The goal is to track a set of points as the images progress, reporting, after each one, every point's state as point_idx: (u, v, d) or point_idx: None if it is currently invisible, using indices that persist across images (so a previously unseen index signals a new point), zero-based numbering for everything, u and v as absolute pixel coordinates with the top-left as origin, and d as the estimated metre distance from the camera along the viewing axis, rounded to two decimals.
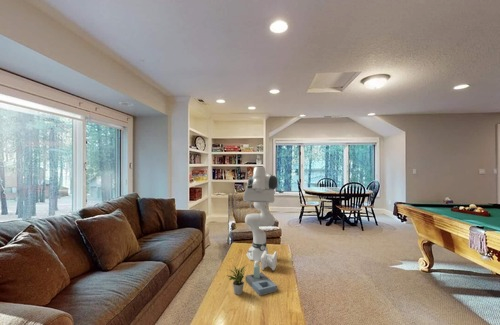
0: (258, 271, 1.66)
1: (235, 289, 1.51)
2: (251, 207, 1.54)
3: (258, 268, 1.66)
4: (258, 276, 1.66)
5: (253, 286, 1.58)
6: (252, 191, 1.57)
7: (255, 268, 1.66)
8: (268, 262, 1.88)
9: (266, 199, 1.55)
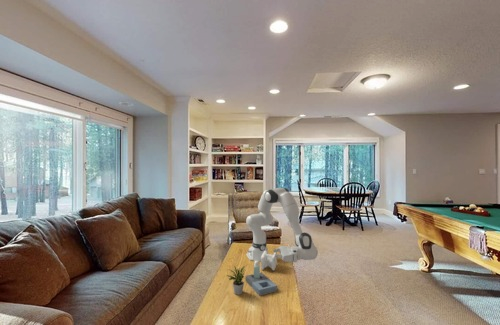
0: (258, 271, 1.66)
1: (235, 289, 1.51)
2: (275, 256, 1.64)
3: (258, 268, 1.66)
4: (258, 276, 1.66)
5: (253, 286, 1.58)
6: None
7: (255, 268, 1.66)
8: (268, 262, 1.88)
9: None
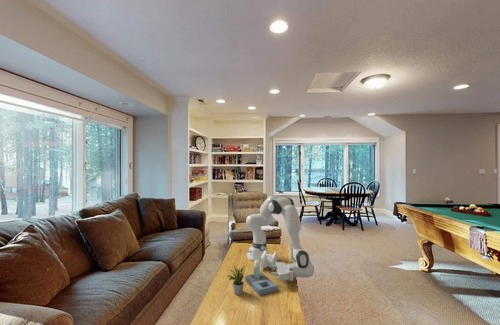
0: (258, 271, 1.66)
1: (235, 289, 1.51)
2: (271, 274, 1.64)
3: (258, 268, 1.66)
4: (258, 276, 1.66)
5: (253, 286, 1.58)
6: None
7: (255, 268, 1.66)
8: (268, 262, 1.88)
9: None
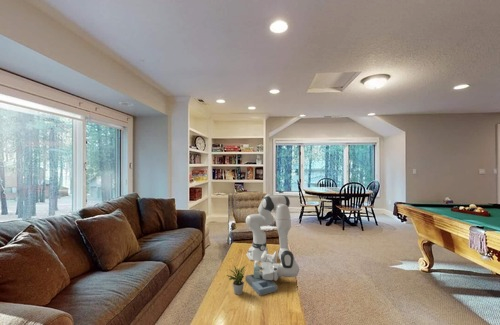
0: None
1: (235, 289, 1.51)
2: None
3: (258, 268, 1.66)
4: (258, 276, 1.66)
5: (253, 286, 1.58)
6: None
7: (255, 268, 1.66)
8: None
9: None
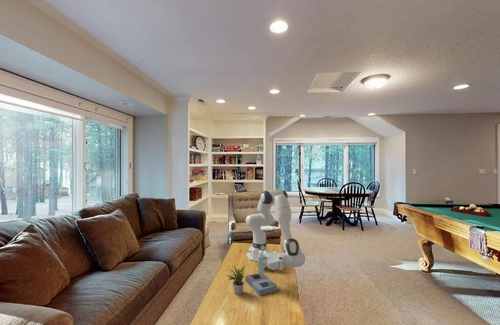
0: None
1: (235, 289, 1.51)
2: (260, 262, 1.59)
3: (263, 257, 1.60)
4: (263, 266, 1.60)
5: (253, 286, 1.58)
6: None
7: (260, 258, 1.60)
8: None
9: None
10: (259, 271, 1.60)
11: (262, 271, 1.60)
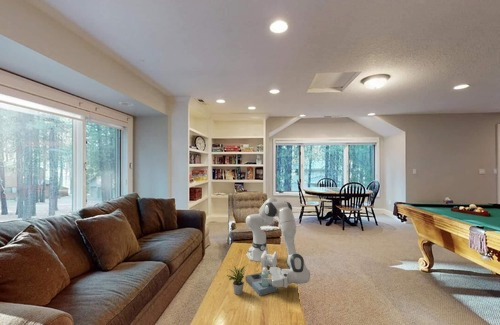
0: None
1: (235, 289, 1.51)
2: (264, 280, 1.53)
3: (267, 275, 1.55)
4: (267, 284, 1.55)
5: (253, 286, 1.58)
6: None
7: (263, 275, 1.55)
8: (268, 262, 1.88)
9: None
10: None
11: None
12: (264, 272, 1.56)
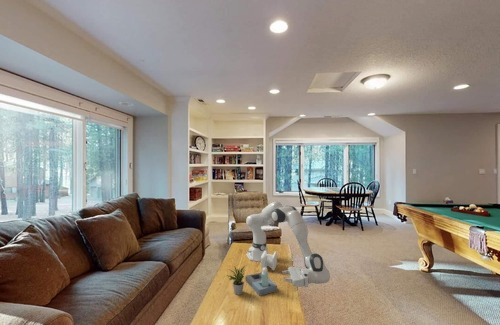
0: (267, 278, 1.55)
1: (235, 289, 1.51)
2: (284, 280, 1.53)
3: (267, 275, 1.55)
4: (267, 284, 1.55)
5: (253, 286, 1.58)
6: None
7: (263, 275, 1.55)
8: (268, 262, 1.88)
9: None
10: None
11: None
12: (264, 272, 1.56)
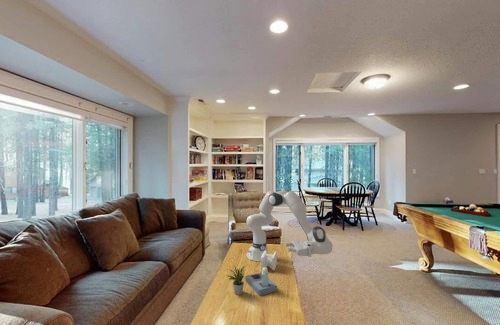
0: (267, 278, 1.55)
1: (235, 289, 1.51)
2: (288, 250, 1.58)
3: (267, 275, 1.55)
4: (267, 284, 1.55)
5: (253, 286, 1.58)
6: None
7: (263, 275, 1.55)
8: (268, 262, 1.88)
9: None
10: None
11: None
12: (264, 272, 1.56)
